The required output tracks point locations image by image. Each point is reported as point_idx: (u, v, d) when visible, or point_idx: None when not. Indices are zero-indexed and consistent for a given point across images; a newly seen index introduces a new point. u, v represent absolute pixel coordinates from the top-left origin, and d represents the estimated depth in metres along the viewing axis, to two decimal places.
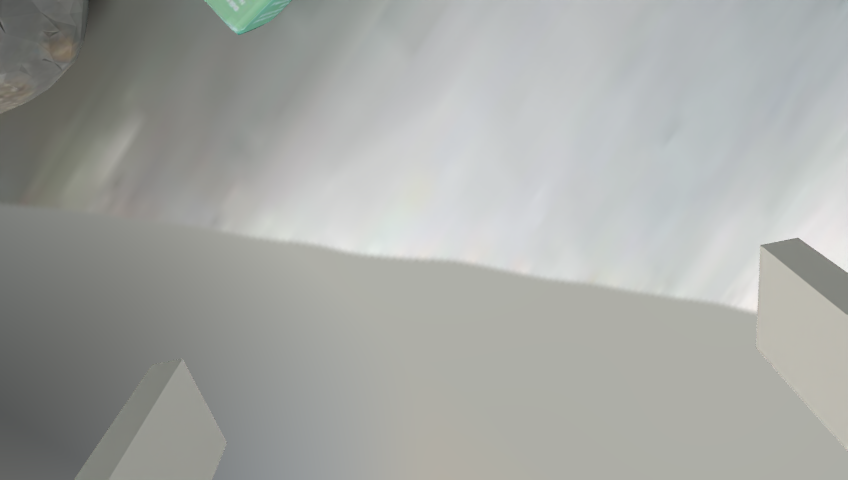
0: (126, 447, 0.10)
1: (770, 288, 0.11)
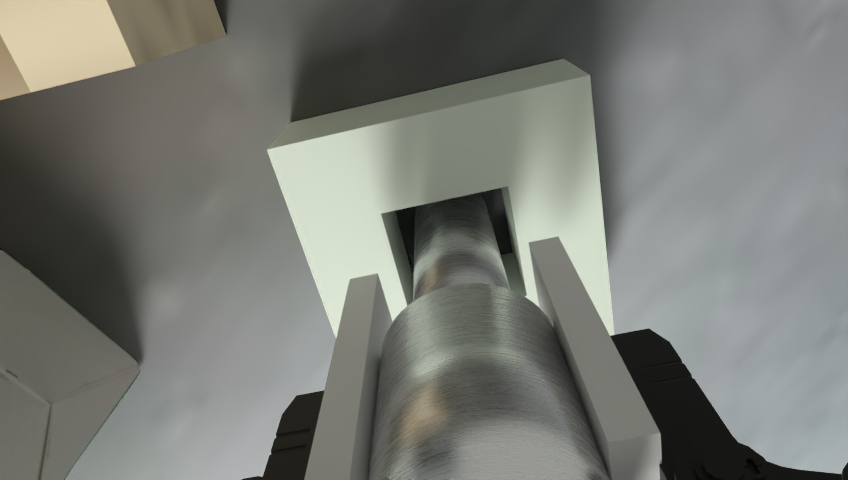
0: (367, 333, 0.12)
1: (535, 277, 0.14)
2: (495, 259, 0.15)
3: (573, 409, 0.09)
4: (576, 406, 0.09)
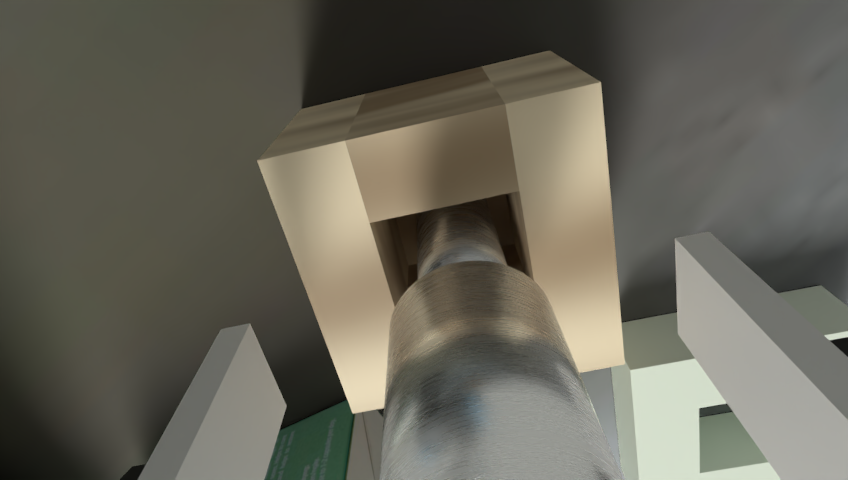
0: (212, 398, 0.11)
1: (683, 277, 0.12)
2: (494, 243, 0.16)
3: (569, 368, 0.10)
4: (571, 367, 0.10)
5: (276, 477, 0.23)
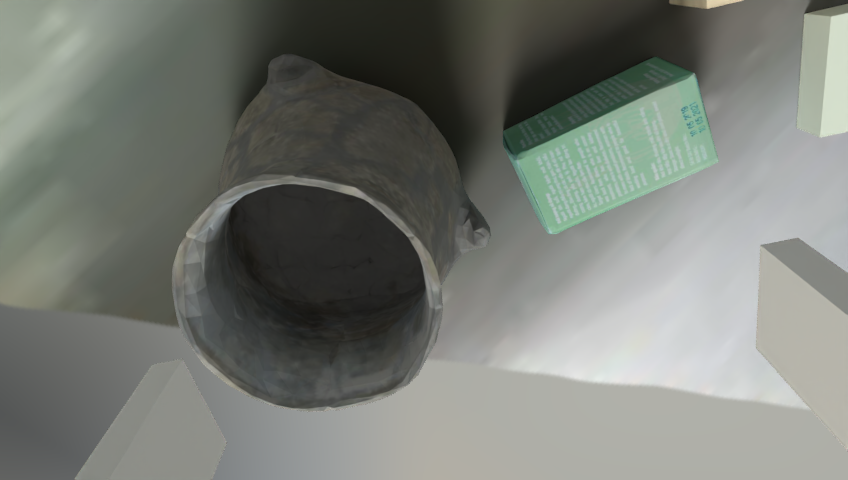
0: (126, 447, 0.10)
1: (770, 288, 0.11)
2: None
3: None
4: None
5: (622, 84, 0.41)
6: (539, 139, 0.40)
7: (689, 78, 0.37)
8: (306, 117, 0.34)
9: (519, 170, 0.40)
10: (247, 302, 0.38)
